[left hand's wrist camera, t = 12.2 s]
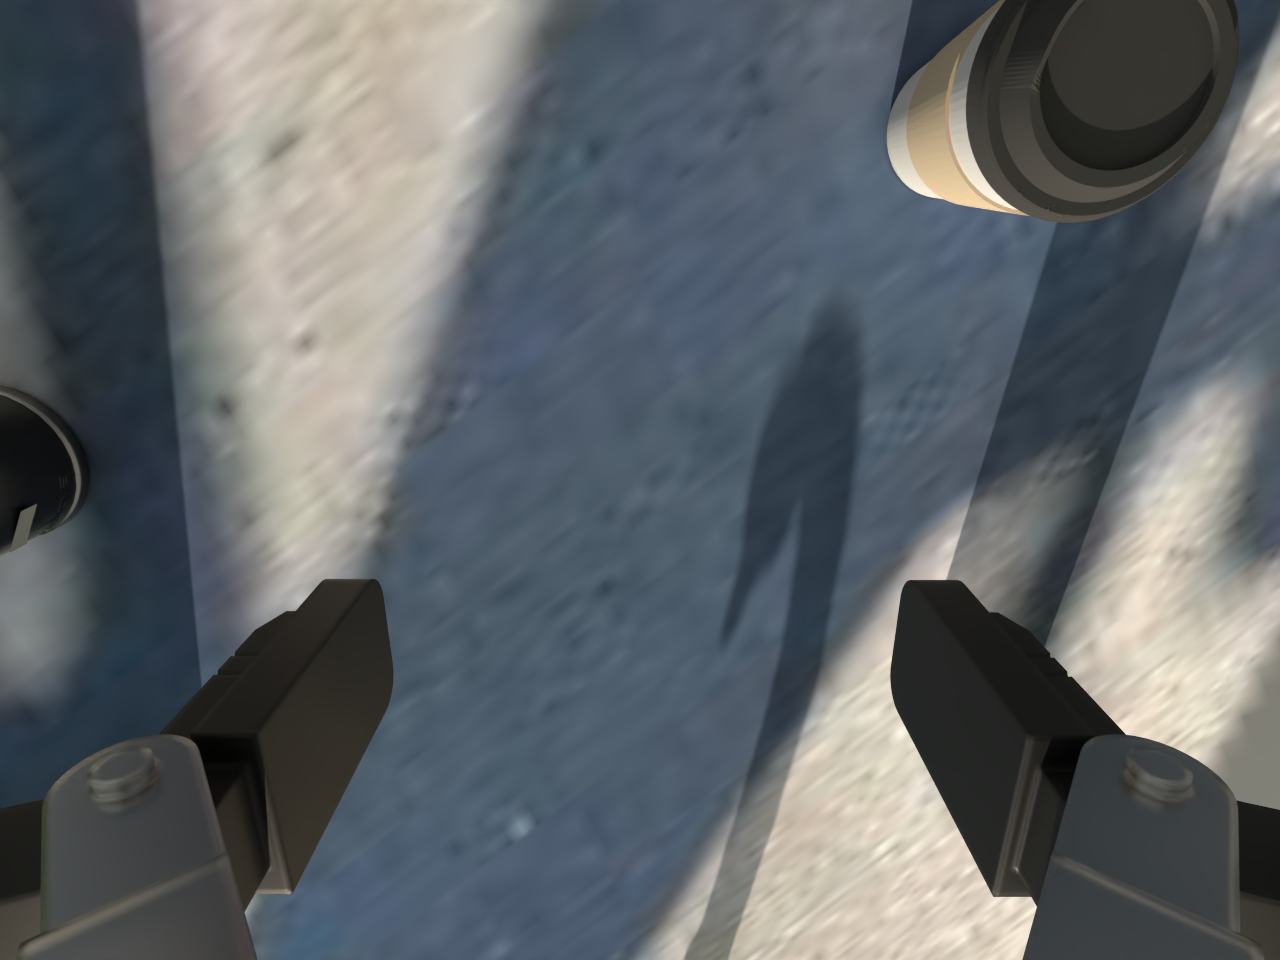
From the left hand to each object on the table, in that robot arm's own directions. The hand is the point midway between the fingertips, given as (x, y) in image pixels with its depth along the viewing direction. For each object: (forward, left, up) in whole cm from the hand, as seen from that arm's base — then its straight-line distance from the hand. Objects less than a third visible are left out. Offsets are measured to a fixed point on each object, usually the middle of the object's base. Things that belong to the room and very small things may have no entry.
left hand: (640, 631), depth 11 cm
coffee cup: (+9, +17, -32) cm, 37 cm away
